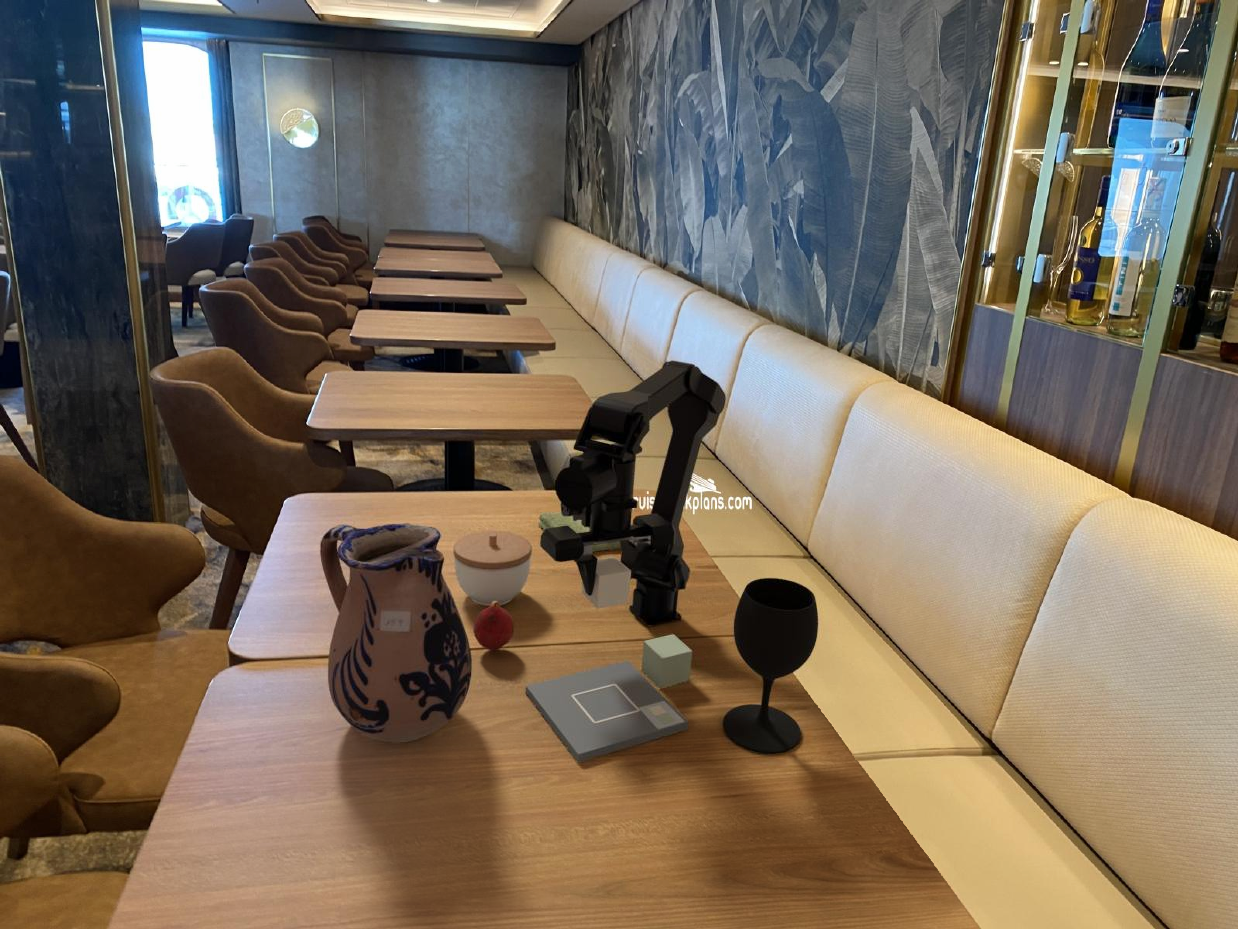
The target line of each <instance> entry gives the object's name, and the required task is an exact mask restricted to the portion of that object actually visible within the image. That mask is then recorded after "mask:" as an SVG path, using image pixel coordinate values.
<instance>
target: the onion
mask: <svg viewBox="0 0 1238 929" xmlns="http://www.w3.org/2000/svg"><path fill="white" fill-rule="evenodd" d="M514 626H515V625H514V620H513V617H512V615H511V614H510V613H509V612H508V611H507V610H505V608H503V607H501V605H500V603H499V602H498V601H493V602H492V603H491V605H490V606H487V607H486V608H485V609H483V610H482V611H481V612H479V614H478V615H477V616H476V618H475V621H474V625H473V636H474V637H475V639H476V641H477V643H478V644H479V645H480V646H481V647H483V648H485V649H487V650H489V651H492V652H495V651H498V650H500V649H501V648H503V647H504V646H506V645H507V644H508V643H509V642H510V641H511V639H512V637H513V635H514V631H515V629H514V628H515V627H514Z"/></svg>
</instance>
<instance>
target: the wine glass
mask: <svg viewBox="0 0 1238 929" xmlns="http://www.w3.org/2000/svg"><path fill="white" fill-rule="evenodd" d="M818 632H819V613H818V606H817V600H816V596H815V594H814V593H813V591H812V590H811V589H809V588H808V587H806V586H805V585H802V584H801V583H798V582H796V581H792V580H789V579H783V578H776V577H764V578H758V579H755V580H751V581H750V582H749V583H747V585H746V586H745V588H744V589H743V591H742V593H741V596H740V598H739V601H738V603H737V607H736V611H735V614H734V620H733V638H734V643H735V646H736V649H737V651H738V653H739V656H740V657H741V658H742V661H744V662H745V664H746V665H747V666H748V667H749V668H750V669H751V670H752V671H753V672H755V673H756V674H757V675H759V676H760V677H762V694H761V695H762V696H761V700H760V701H761V702H760V704H756V703H755V704H754V703H750V704H748V703H747V704H742V705H738V706H735V707H733V708H731V709H729V710H728V711H727V712H726V713H725V715H724V717H723V718H722V729H723V731H724V735H725V736H726V737H727V738H728V739H729V740H730V741H731V742H732V743H734V744H735V745H736V746H737V747H740V748H741V749H744V750H746V751H750V752H753V753H757V754H762V755H780V754H784V753H788V752H789V751H790V752H791V750H793V749H795V748H796V747H797V746H798V745H799V744H800V742H801V740H802V729H801V727H800V725H799V724H798V723H797V721H796V720H795V719H794V718H793V717H792V716H791V715H790V714H788V713H786V712H785V711H782V710H781V709H779V708H775V707H773V706H769V704H770V697H771V692H772V687H773V684H774V681H775V680H777V679H781V678H783V677H786V676H788V675H791V674H793V673H794V672H796V671H797V670H799V669H801V668H802V666H803V665H804V664H805V663H806V662H807V661H808V660H809V658H810V657H811V655H812V653H813V651H814V649H815V647H816V643H817V640H818Z"/></svg>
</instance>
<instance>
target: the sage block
mask: <svg viewBox="0 0 1238 929" xmlns="http://www.w3.org/2000/svg"><path fill="white" fill-rule="evenodd" d="M642 647H643V648H642V657H641V658H642V659H641V660H642V661H641V672H642V671H643V672H644V673H645V674H646V675H647V676H646V675H645V674H644V673H643V672H642V673H643V674H644V675H645V676H646V677H647V678H648V679H649V678H650V679H649V680H650V682H652V681H653V682H654V683H655V684H656V685H657V686H658V687H657V686H656V685H655V684H654V683H653V682H652V683H653V684H654V685H655V686H656V687H657V688H658V689H659V688H661V689H664V688H663V687H665V688H667V687H666V686H669V687H671V686H670V685H673V686H675V685H674V684H676V685H679V684H678V683H680V684H682V682H684V683H686V682H685V681H688V682H690V677H691V676H690V675H691V668H692V659H693V658H692V656H693V650H692V649H691V648H689V646H687V645H686V644H685V643H684V642H683V641H682V640H680V639H679V637H677V636H676V635H675V634H668V635H665V636H660V637H656V638H651V639H647V640H643V646H642Z"/></svg>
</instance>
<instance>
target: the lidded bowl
mask: <svg viewBox="0 0 1238 929" xmlns="http://www.w3.org/2000/svg"><path fill="white" fill-rule="evenodd" d="M532 548H533V547H532V544H531V542H530V541H529V540H528V539H527V538H526V537H524V536H522V535H519V534H517V533H513V532H509V531H502V530H483V531H476V532H473V533H468V534H466V535H463V536H462V537H460V538H459V539H457V540H456V542H454V545H453V556H454V559H453V560H454V570H455V576H456V580H457V582H458V584H459V587H460V588H461V589H462V590H461V591H463V592H464V593H465V595H467V596H468V597H470V598H469V599H470V600H471V601H472V602H474V603H475V604H477V605H481V606H486V607H489V606H490V605H491V603H492V602H493V601H498V602H499V603H500V605H499V606H503V605H506V604H508V603H510V602H511V601H512V600H513V599H514V598H515V596H517V595H518V594H519V593H520V592H521V591H522V590H523V588H524V586H525V585H526V583H527V581H528V578H529V574H530V568H531V556H532V553H533V552H532V551H533V549H532Z"/></svg>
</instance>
